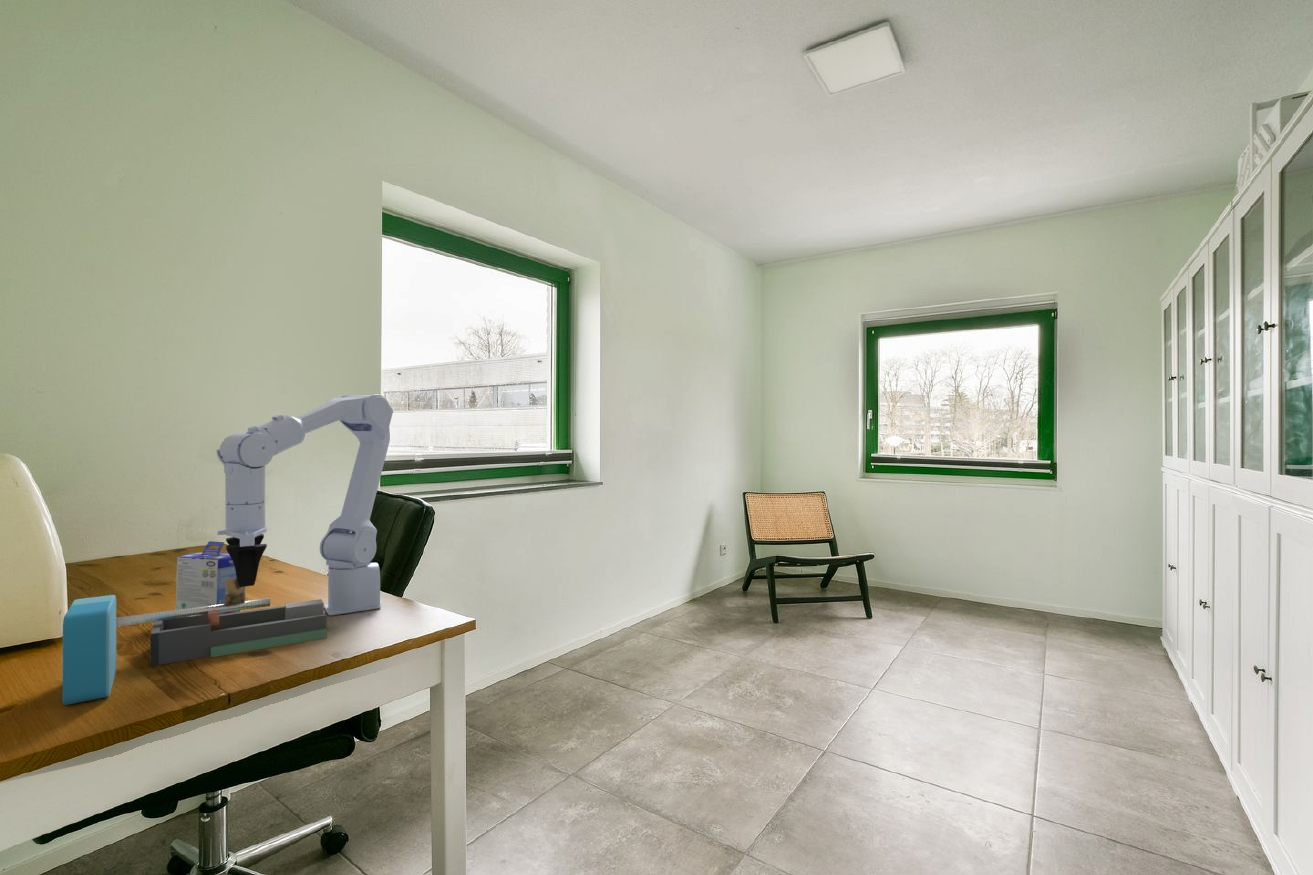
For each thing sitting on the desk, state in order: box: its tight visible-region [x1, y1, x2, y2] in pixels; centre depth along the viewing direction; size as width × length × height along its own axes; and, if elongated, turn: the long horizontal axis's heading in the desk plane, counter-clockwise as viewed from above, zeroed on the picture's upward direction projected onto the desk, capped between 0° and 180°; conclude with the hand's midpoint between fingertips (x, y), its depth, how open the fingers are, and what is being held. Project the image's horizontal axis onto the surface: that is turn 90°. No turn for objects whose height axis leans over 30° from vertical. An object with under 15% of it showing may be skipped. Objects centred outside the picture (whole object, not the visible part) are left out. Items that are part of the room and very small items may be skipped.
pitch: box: [150, 598, 328, 667], centre depth 105 cm, size 24×12×5 cm, turn 126°
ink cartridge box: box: [175, 540, 241, 615], centre depth 117 cm, size 10×6×14 cm, turn 79°
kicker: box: [116, 577, 271, 631], centre depth 101 cm, size 22×5×9 cm, turn 126°
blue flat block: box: [62, 594, 117, 706], centre depth 85 cm, size 12×4×12 cm, turn 38°
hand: (246, 581), depth 105 cm, fingers open, 7 cm apart
